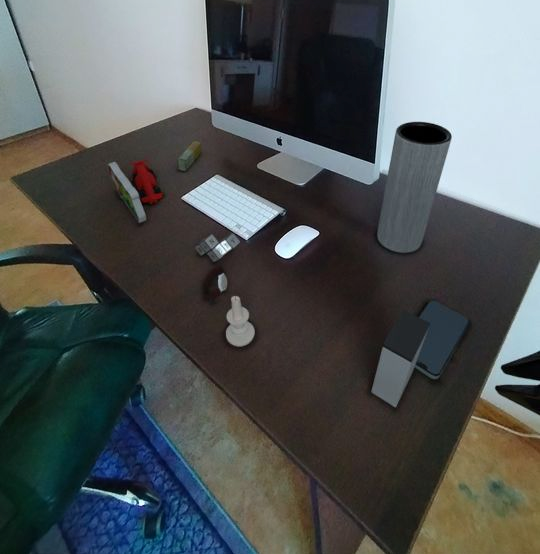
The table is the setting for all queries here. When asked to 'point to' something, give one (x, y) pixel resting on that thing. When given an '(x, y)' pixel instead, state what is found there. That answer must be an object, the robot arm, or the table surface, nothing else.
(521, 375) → the robot arm
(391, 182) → the planter
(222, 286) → the watch
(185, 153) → the medication box
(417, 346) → the box with lid
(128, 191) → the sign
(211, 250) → the building blocks
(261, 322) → the table surface
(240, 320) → the candle
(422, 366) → the smartphone
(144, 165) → the toy car
